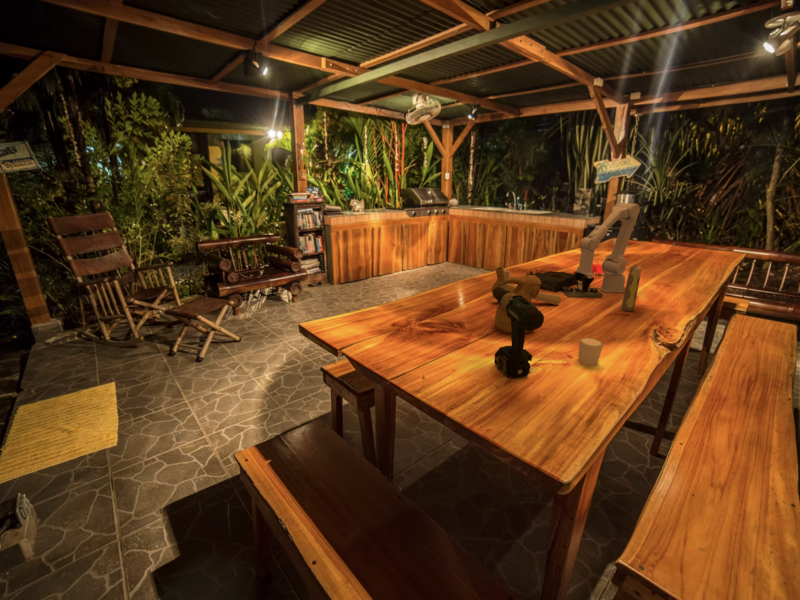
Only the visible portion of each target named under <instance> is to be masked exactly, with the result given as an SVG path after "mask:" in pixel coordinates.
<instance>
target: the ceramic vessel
mask: <svg viewBox="0 0 800 600" xmlns="http://www.w3.org/2000/svg"><path fill="white" fill-rule="evenodd" d="M504 270H505V268H504V267H503V266H499V267H496V268H495V274H496V277H497V279H498V280H497V279H496V280H497V281H496V280H495V282H494V283H493V285H492V288H491V294H492V296H493V290H494V288H497V287H501V286H502V285H504V284H507V283H508V284H514V285H515V286H516V287H515V288H514V289H513V290H512V291H511V292H513V293H514V294H516V295H521V296H523V297H524V298H526V299H527V300H528V301H529V302H530V303H532V304H533V301H532V300H535V299H534V298H535V297H536V296H537V295H538V293H539V292H541V289H540V284H541V281H540V279H539V278H538V277H536V275H527V276H526V275H524V276H523V277H522V278H521V277H518V276H508V277H505V275H504ZM493 298H494V296H493ZM494 299H495V300H496V301H497V299H496V298H494ZM505 312H506V311H505V310H504V309H503V308H502V307H501V306H500V305H499V303H498V304H497V307H496V310H495V315H494V324H495V326H496V328H497V329H498V330H499V331H501V332H503V333H505V334H510V335H511V331H512V329H511V319H510V318H509V317H508V316H507V315H506V313H505ZM529 332H531V331H526V330H525V334H526V333H529Z"/></svg>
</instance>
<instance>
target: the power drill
mask: <svg viewBox="0 0 800 600" xmlns="http://www.w3.org/2000/svg"><path fill="white" fill-rule="evenodd" d="M492 296H494V297H493V298H494V299H495V298H496V299H497V300H496V299H495V300H496V301H497V303H498V304H499V305H500V306H501V307H502V308H503V309H504V310H505V311H506V312H505V313H506V315H507V316H508V317H509V318H510V319H511V329H512V331H511V334H510V335H511V337H510V339H511V340H510V341H511V345H504V346H500V347H499V348H498V350H496V352H495V353H494V362H493V363H494V365H495V366H496V370H498V371H501V373H502V375H503V376H504V377H506V378H509V379H510V378H523V377H526V376H528V375H529V374H530V369H531V363H529V362H532V361H533V354H531V352H529V351H528V350H527V349H525V348H524V345H525V341H526V333H525V330H526V331H530V332H532V331H537V330H538V329H540V328H541V327H542V326H543V324H544V321H545V315H544V314H543V312H542V311H541V310H539V308H538V307H536V305H535V304H533V302H532V303H530V302H529V301H528V300H527V299H526V298H524V297H523V296H521V295H516V294H514V293H513V292H511V291H507V290H505V289H503V288H502V287H497V288H494V290H493V294H492Z"/></svg>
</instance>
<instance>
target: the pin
mask: <svg viewBox="0 0 800 600" xmlns="http://www.w3.org/2000/svg"><path fill="white" fill-rule="evenodd" d="M577 283H578V289H577V292H586V291H582V280H577Z"/></svg>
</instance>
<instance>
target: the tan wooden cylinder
mask: <svg viewBox="0 0 800 600" xmlns="http://www.w3.org/2000/svg"><path fill="white" fill-rule="evenodd" d="M578 341H579V342H578V343H579V344H578V362H579V363H581V364H583V365H586V366H592V367H593V366H597V365H598V363H599V359H600V358H601V357H600V356H601V352H602V350H603V346H604V342H602V341H601V340H599V339H597V338H594V337H582V338H579V340H578Z"/></svg>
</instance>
